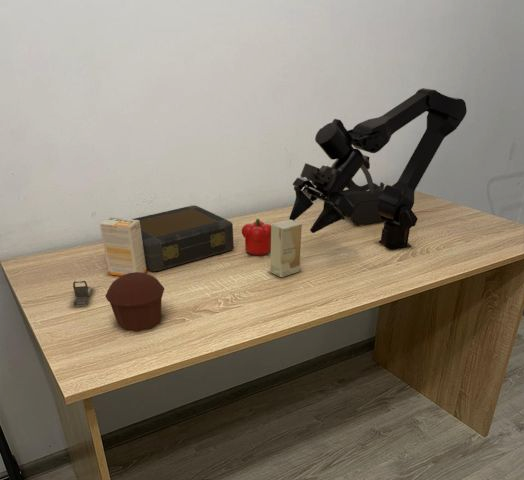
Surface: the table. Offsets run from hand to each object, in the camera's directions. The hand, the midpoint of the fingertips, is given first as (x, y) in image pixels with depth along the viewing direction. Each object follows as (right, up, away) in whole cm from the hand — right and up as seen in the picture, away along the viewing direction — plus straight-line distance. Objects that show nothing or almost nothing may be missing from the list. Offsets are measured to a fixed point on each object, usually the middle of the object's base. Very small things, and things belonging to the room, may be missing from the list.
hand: (300, 226), depth 126 cm
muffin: (-35, -24, -15) cm, 45 cm away
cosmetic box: (-3, -10, +4) cm, 12 cm away
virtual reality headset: (+21, +13, +41) cm, 48 cm away
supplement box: (-42, -11, +4) cm, 44 cm away
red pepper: (-10, -3, +15) cm, 19 cm away
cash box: (-32, -3, +17) cm, 36 cm away
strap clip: (-49, -18, -7) cm, 53 cm away
